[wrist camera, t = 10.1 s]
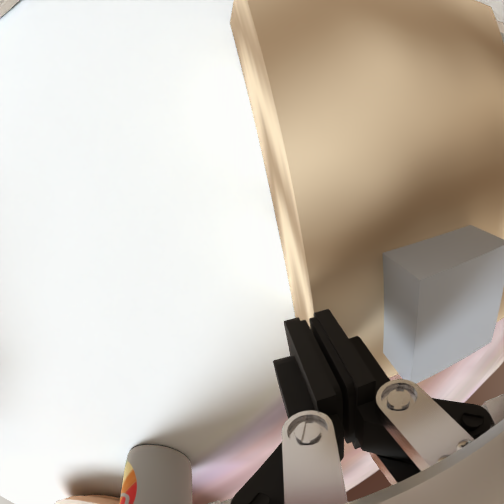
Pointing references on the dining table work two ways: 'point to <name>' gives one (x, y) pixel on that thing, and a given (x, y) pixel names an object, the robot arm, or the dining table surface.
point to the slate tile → (441, 300)
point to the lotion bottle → (156, 476)
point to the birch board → (372, 137)
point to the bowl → (90, 500)
